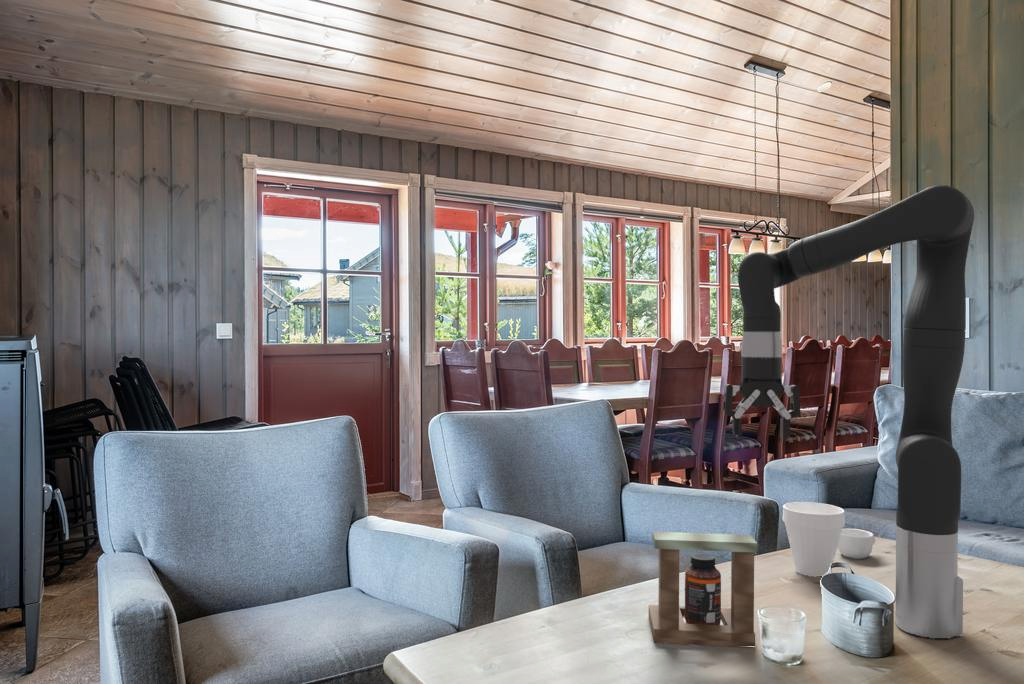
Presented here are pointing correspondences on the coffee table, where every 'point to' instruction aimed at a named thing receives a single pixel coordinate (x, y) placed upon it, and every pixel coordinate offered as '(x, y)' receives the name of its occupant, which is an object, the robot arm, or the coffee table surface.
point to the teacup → (856, 543)
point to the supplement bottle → (702, 591)
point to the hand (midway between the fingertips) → (761, 437)
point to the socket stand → (734, 621)
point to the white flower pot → (813, 535)
